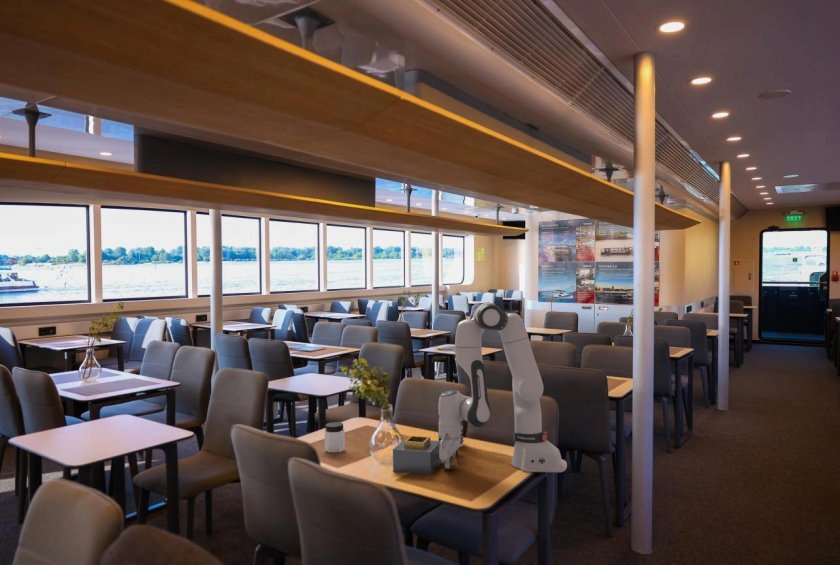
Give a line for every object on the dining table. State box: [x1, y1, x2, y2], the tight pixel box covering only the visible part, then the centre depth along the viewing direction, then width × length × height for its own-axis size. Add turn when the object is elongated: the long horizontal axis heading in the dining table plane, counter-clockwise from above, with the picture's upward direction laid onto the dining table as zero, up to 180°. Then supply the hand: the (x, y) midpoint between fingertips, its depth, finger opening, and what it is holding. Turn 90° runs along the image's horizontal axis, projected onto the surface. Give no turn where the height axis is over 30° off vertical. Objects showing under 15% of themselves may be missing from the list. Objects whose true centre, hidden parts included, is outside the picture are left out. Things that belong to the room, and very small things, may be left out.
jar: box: [324, 421, 346, 453], centre depth 266 cm, size 9×8×12 cm
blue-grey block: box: [392, 435, 443, 476], centre depth 241 cm, size 16×16×12 cm
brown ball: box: [443, 456, 458, 471], centre depth 237 cm, size 6×6×6 cm
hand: (450, 464), depth 237 cm, fingers open, 6 cm apart
